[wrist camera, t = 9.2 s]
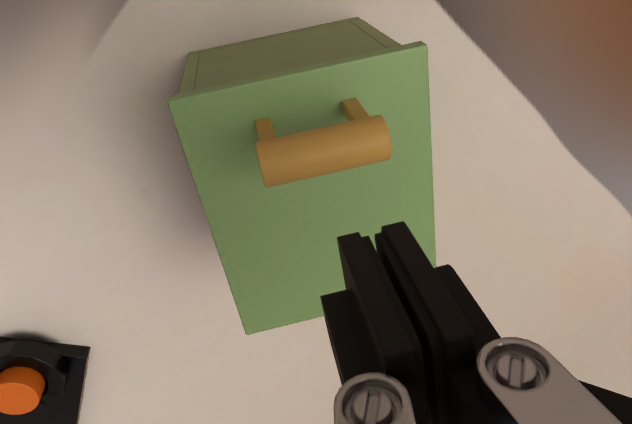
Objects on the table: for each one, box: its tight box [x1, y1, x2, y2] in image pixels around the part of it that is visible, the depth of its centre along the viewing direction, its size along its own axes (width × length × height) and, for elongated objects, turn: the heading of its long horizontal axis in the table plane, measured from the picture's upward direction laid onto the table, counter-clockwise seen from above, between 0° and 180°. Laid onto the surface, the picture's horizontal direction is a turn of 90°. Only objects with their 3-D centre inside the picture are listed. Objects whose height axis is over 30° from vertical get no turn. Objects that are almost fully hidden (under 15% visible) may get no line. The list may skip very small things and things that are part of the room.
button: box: [0, 366, 45, 415], centre depth 40 cm, size 4×4×2 cm
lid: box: [167, 41, 436, 335], centre depth 24 cm, size 14×12×6 cm
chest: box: [179, 17, 401, 93], centre depth 32 cm, size 14×12×12 cm
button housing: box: [0, 337, 90, 424], centre depth 44 cm, size 17×9×3 cm, turn 162°
